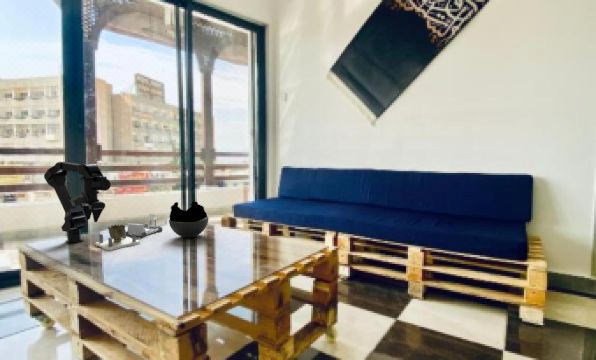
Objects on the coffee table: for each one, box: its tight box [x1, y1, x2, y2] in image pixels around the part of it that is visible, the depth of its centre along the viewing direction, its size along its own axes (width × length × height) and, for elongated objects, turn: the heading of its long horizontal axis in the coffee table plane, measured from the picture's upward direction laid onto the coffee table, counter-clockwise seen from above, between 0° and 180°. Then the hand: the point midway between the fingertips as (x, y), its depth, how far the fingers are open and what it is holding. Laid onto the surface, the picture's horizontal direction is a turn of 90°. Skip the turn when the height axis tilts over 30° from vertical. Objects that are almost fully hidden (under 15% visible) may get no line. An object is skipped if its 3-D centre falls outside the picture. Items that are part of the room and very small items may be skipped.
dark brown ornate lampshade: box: [107, 224, 126, 242], centre depth 169 cm, size 8×7×8 cm
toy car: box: [126, 213, 163, 238], centre depth 191 cm, size 18×10×12 cm
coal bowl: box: [168, 201, 209, 239], centre depth 181 cm, size 20×20×19 cm
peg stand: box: [95, 229, 141, 251], centre depth 169 cm, size 15×15×5 cm
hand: (92, 220), depth 169 cm, fingers open, 9 cm apart
